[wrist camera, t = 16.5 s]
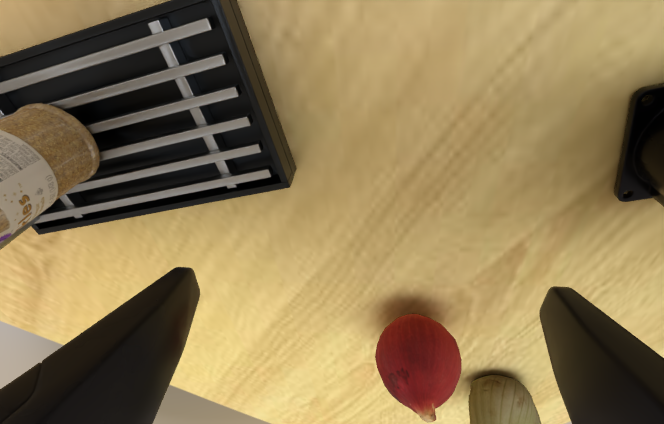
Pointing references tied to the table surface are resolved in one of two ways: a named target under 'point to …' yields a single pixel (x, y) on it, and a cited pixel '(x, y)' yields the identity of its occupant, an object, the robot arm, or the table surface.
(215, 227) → the table surface
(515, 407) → the fennel bulb
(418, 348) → the onion
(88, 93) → the dish rack
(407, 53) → the table surface
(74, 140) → the sprinkles bottle
